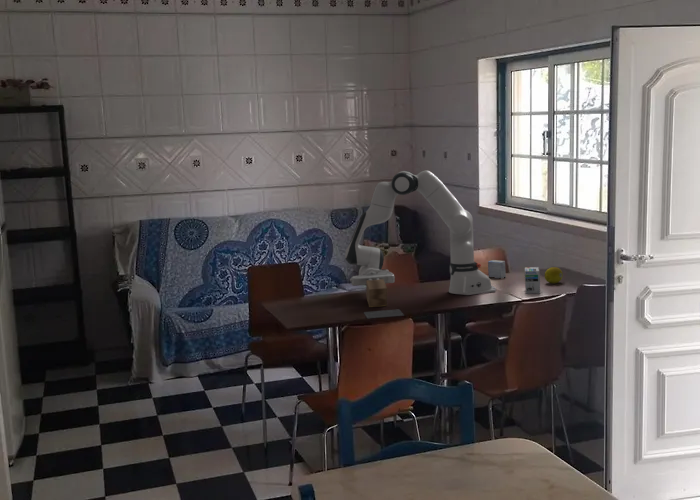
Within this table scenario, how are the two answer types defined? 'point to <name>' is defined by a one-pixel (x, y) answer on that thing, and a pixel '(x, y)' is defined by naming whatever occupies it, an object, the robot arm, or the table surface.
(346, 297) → the table surface
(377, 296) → the letter block
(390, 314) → the charcoal mat
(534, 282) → the light bulb box
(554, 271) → the lemon
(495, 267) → the medicine box
